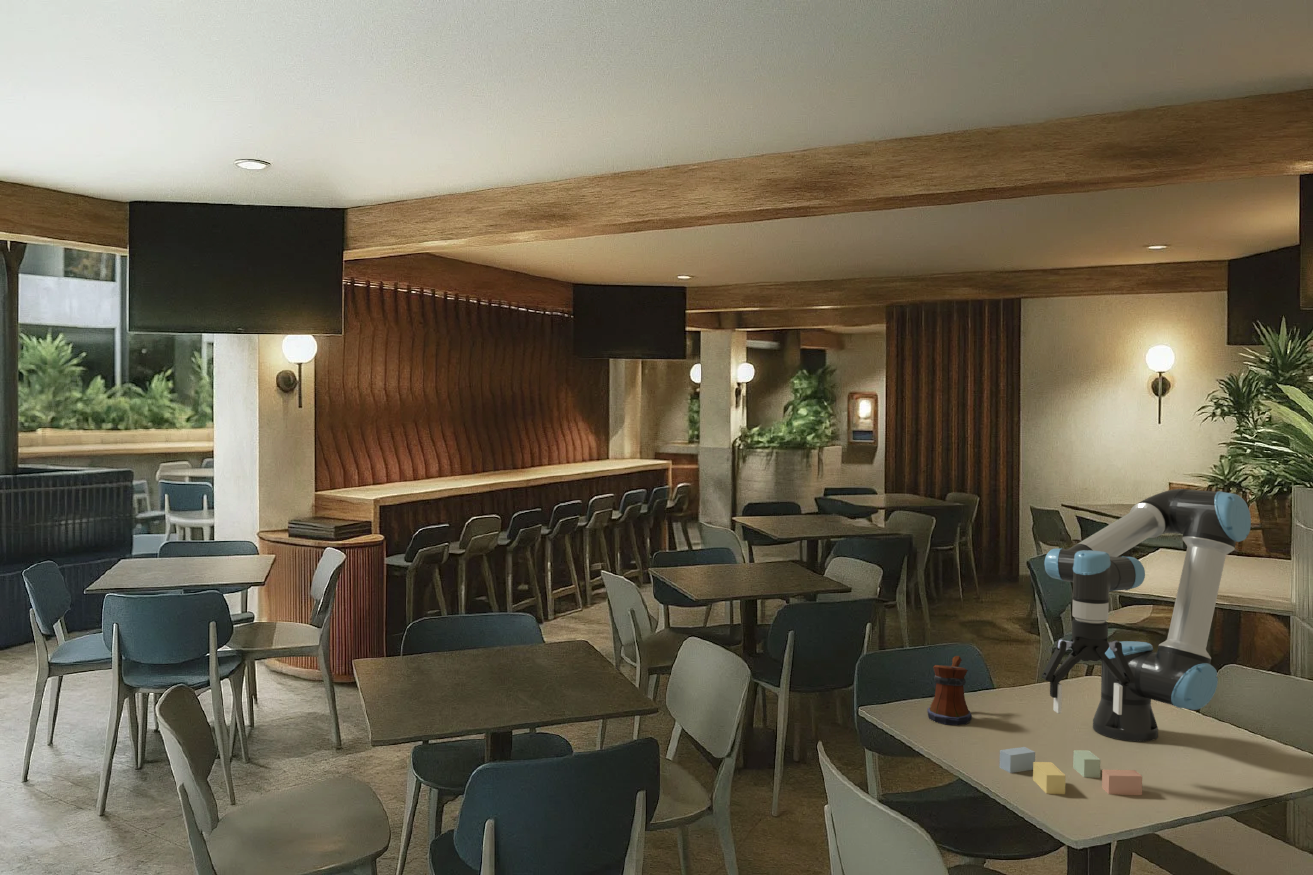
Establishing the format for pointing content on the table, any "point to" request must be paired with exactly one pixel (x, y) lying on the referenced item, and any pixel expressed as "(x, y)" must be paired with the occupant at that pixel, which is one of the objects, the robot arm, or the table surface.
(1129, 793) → the terracotta brick
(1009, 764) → the slate brick
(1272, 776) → the table surface
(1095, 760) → the sage brick
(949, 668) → the mug
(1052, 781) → the ochre brick
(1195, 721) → the table surface
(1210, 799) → the table surface
